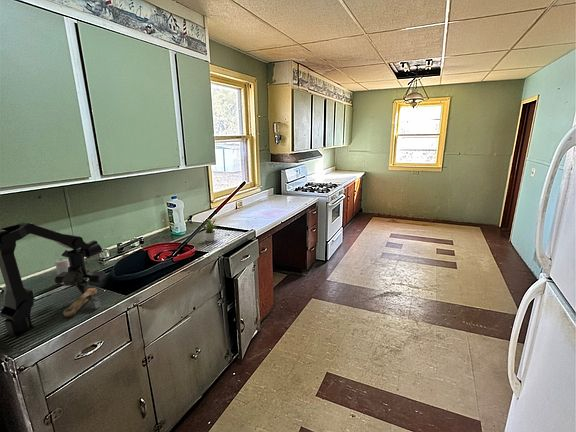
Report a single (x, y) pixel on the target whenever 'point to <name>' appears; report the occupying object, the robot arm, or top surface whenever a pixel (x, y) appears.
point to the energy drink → (62, 265)
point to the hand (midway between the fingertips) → (83, 293)
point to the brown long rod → (78, 303)
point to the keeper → (94, 301)
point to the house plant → (209, 230)
